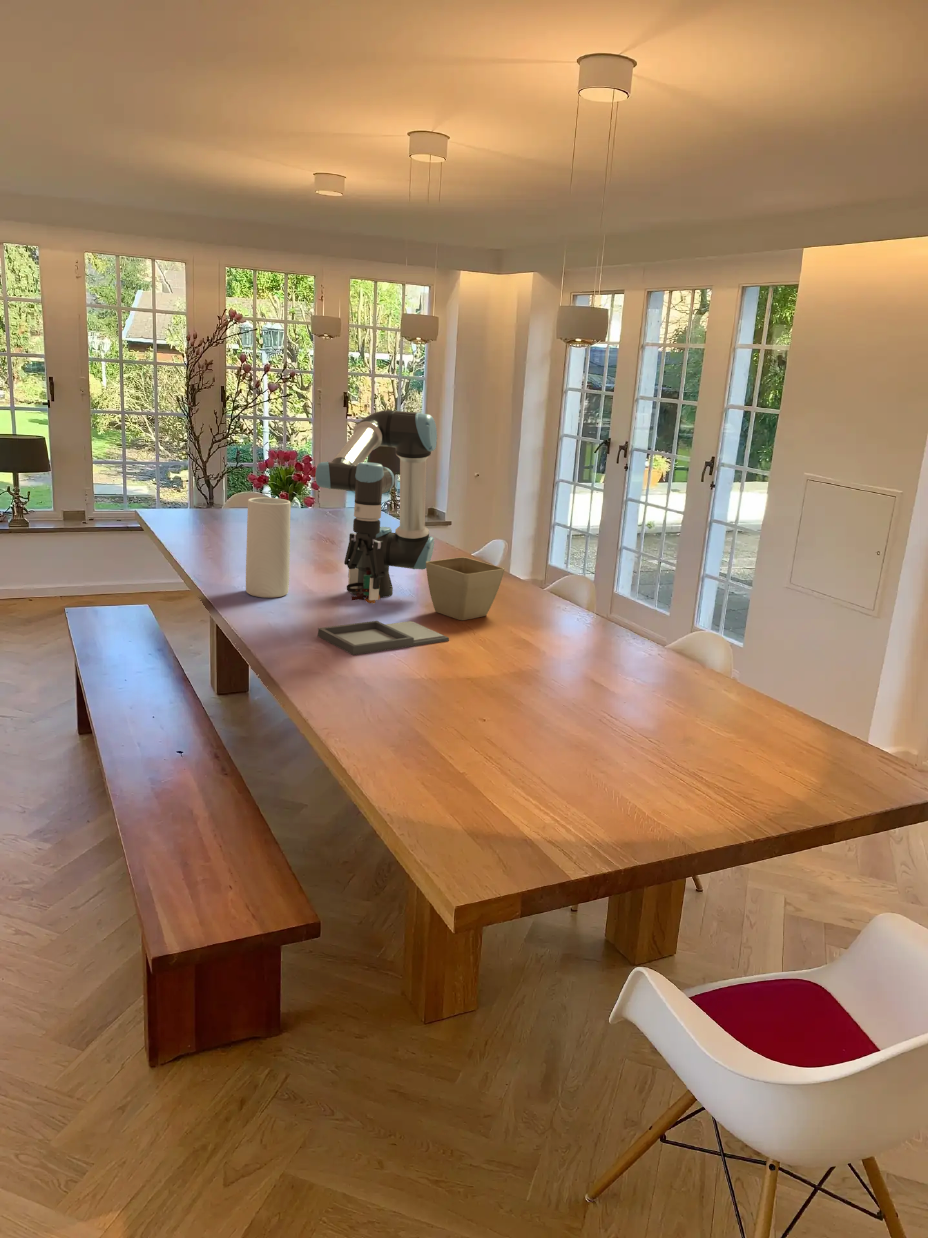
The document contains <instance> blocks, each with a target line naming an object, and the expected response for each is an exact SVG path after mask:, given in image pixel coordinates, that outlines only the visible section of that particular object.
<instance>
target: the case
mask: <svg viewBox="0 0 928 1238" xmlns="http://www.w3.org/2000/svg"><path fill="white" fill-rule="evenodd" d="M317 637H319V638H320V639H322V640H324V641H326V642H328V643H329V644H332V645H333V646H335V647H337V648H339V649H340V650H342V651H344V652H347V653H348V654H350V655H352V656H357V655H363V654H370V653H377V652H385V651H390V650H397V649H398V650H399V649H403V648H404V649H405V648H409V647H417V646H424V645H430V644H431V645H432V644H436V643H437V644H438V643H443V642H444V643H445V642H449V640H450V638H449V637H448V636H446V635H444V634H441V633H440V632H437V631H435V630H432V629H430V628H428V627H426V626H424V625H421V624H419V623H417V622H414V621H412V620H407V621H400V622H393V623H384V622H383V623H382V622H381V621H379V620H373V621H365V622H356V623H348V624H342V625H333V626H324V627H318V628H317Z"/></svg>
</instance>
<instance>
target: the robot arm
mask: <svg viewBox="0 0 928 1238" xmlns="http://www.w3.org/2000/svg"><path fill="white" fill-rule="evenodd" d="M437 433H438V432H437V425H436V421H435V419H434V417H433V416H432V415H431V414H430V413H429V414H428V413H422V412H418V411H417V412H416V411H401V410H393V409H391V410H389V409H384V410H379V411H376V412H374V413H371V414H369V415H368V416H365V417H364V418H363V419H361V420H360V421H359V422H358V423H357V424H356V425H355V427H354V429H353V433H352V435H351V437H350V438H349V440H348V441H346V443H345V445H343V447H342V448H341V449H340V451H339V452H338V453H337V455H336V456H335V457H334V458H333V459H332V460H331V462H329V461H321V462H318V464H317V466H316V469H315V475H314V476H315V482H316V485H317V486H318V487H320V488H322V489H328V490H339V491H340V490H341V491H349V492H354V507H353V516H354V519H353V525H352V531H353V532H352V533H349V534H348V535H349V539H348V540H349V541H348V546H347V549H346V554H345V558H344V565H346V566H347V569H348V575H347V577H348V580H347V581H348V582H347V583H348V584H347V585H349V584H352V583H363V577H364V575H365V574H366V570H365V567H370V570H371V574H372V576H370V588H369V600H375V601H376V600H377V601H379V600H378V597H379V595H380V599H381V598H382V599H383V598H388V597H390V596H392V595H393V591H394V589H393V588H394V587H393V583H392V580H391V576H390V567H397V568H403V569H412V570H426V562H428V561H432V560H431V559H432V556H433V553H434V552H433V551H434V546H435V538H434V537H433V536H432V535H430V530H429V528H428V527H427V526H426V495H427V494H426V492H427V491H426V487H427V486H426V485H427V459H429V458H430V456H432V452H434V451H436V447H437V439H438V434H437ZM379 447H387V448H388V447H389V448H395V455H396V456H397V457H398V458H399V526H398V527H397V528H396V529H395V531H394V532H393V530H392V528H391V527H388V526H381V520H380V519H381V518H382V502H383V501H382V499H383V498H382V497H383V494H385V493H388V492H389V491H390V490H392V488H393V487H394V484H395V475H394V472H393V471H392V470H391V469H390V468H388V467H386V466H383V464H382V463H378V462H369V461H367V462H366V460H367V458H368V456H370V454H371V453H372V451H374V450H375V449H378V448H379ZM359 587H360V588H361V587H363V586H355V587H350V588H354V589H357V588H359ZM379 587H380V590H379ZM361 591H362V588H361ZM348 592H349V593H350V594H351V595H352V596H357V595H356V593H357V592H350V591H348Z"/></svg>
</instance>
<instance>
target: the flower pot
mask: <svg viewBox="0 0 928 1238" xmlns="http://www.w3.org/2000/svg"><path fill="white" fill-rule="evenodd" d="M425 570H426V577H427V584H428V589H429V594H430V598H431V601H432V605H433V606H432V607H433V609H434V612H436V613H437V614H441V615H444V616H446V617H450V618H453V619H455V620H459V621H466V620H472V619H477V618H480V617H482V618H483V617H486V616H487V615H488V613H489V612H490V609H491V607H492V605H493V603H494V601H495V599H496V596H497V593H498V591H499V588H500V586H501V583H502V580H503V576H504V572H505V568H504V567H502V566H497V565H496V564H495V565H494V564H491V563H487V562H485V561H480V560H477V559H473V558H470V557H466V556H460V557H453V558H444V559H437V560H430V561H428V562H426V569H425Z"/></svg>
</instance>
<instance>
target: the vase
mask: <svg viewBox="0 0 928 1238" xmlns="http://www.w3.org/2000/svg"><path fill="white" fill-rule="evenodd" d="M291 505H292V504H291V501H290V500H287V499H284V498H277V497H275V498H274V497H251V498H248V499H247V516H246V517H247V519H246V520H247V522H246V548H245V549H246V554H245V556H246V557H245V558H246V559H245V561H246V562H245V591H246V593H247V594H249V595H250V596H252V597H256V598H264V599H268V598H269V599H271V598H275V599H276V598H281V597H284V596H287V595H288V593H289V591H290V590H289V587H290V586H289V585H290V561H291V560H290V559H291V558H290V557H291V554H290V552H291V549H290V548H291V513H292V512H291V510H292V509H291Z"/></svg>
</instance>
